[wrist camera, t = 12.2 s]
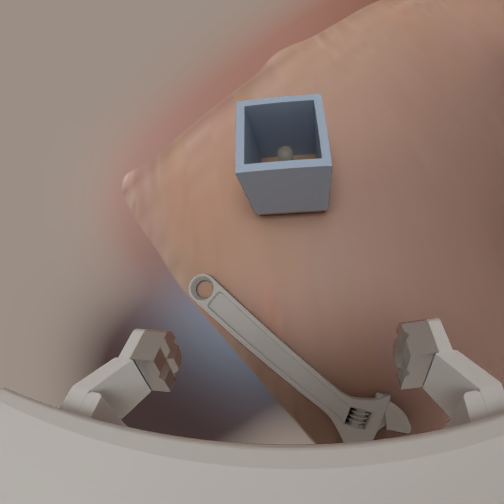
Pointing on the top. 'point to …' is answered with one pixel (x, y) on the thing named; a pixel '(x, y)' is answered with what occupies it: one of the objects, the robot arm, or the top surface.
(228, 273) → the top surface
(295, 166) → the collar
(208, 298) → the adjustable wrench
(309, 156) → the post stand
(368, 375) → the top surface
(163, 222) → the top surface
